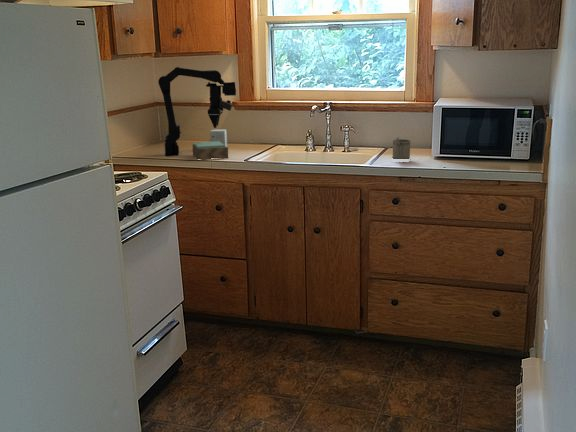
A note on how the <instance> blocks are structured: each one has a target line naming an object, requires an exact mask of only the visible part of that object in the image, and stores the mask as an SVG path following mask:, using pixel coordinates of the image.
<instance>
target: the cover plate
mask: <svg viewBox="0 0 576 432" xmlns="http://www.w3.org/2000/svg"><path fill="white" fill-rule="evenodd" d="M193 144H194V146H195V147H196V148H197V149H205V148H221V147H224V145H223V144H222V143H221V142H220V141H215V142H210V141H201V142H193Z"/></svg>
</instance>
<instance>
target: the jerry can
mask: <svg viewBox="0 0 576 432" xmlns="http://www.w3.org/2000/svg"><path fill="white" fill-rule="evenodd" d="M411 142H412V140H409V139H403V138H402V139H401V138H400V137H395V139H393V140H392V157H391V159H392V158H393V159H409V158H410V159H411V157H410V156H411Z"/></svg>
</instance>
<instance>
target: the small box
mask: <svg viewBox="0 0 576 432" xmlns="http://www.w3.org/2000/svg"><path fill="white" fill-rule="evenodd" d="M227 134H228V133H227V129H211V130H209V137H210V139H209V140H210V141H209V142H215V141H220V142H221V143H222V144H223V145H224V146H226V147H228V137H227Z"/></svg>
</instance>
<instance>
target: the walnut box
mask: <svg viewBox="0 0 576 432" xmlns="http://www.w3.org/2000/svg"><path fill="white" fill-rule="evenodd" d="M192 155H193V157H194V158H195V157H196V158H197V159H211V158H228V159H229V147H228V146H227V147H226V146H224V147H221V148H205V149H197V148H196V147H195V146H194V143H193V144H192ZM196 158H195V159H196ZM197 159H196V160H197Z"/></svg>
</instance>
